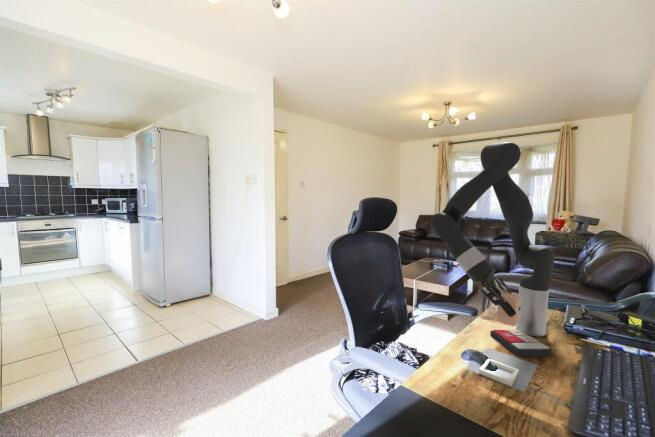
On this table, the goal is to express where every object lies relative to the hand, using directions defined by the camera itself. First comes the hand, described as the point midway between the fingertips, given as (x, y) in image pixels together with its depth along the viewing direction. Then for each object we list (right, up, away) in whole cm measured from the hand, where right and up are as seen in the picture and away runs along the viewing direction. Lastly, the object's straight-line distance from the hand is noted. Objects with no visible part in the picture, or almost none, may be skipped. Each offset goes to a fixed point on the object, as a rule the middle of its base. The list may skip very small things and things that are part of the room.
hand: (515, 312), depth 87 cm
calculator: (+10, -17, +14) cm, 24 cm away
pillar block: (-1, -3, +2) cm, 4 cm away
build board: (-3, -17, 0) cm, 18 cm away
